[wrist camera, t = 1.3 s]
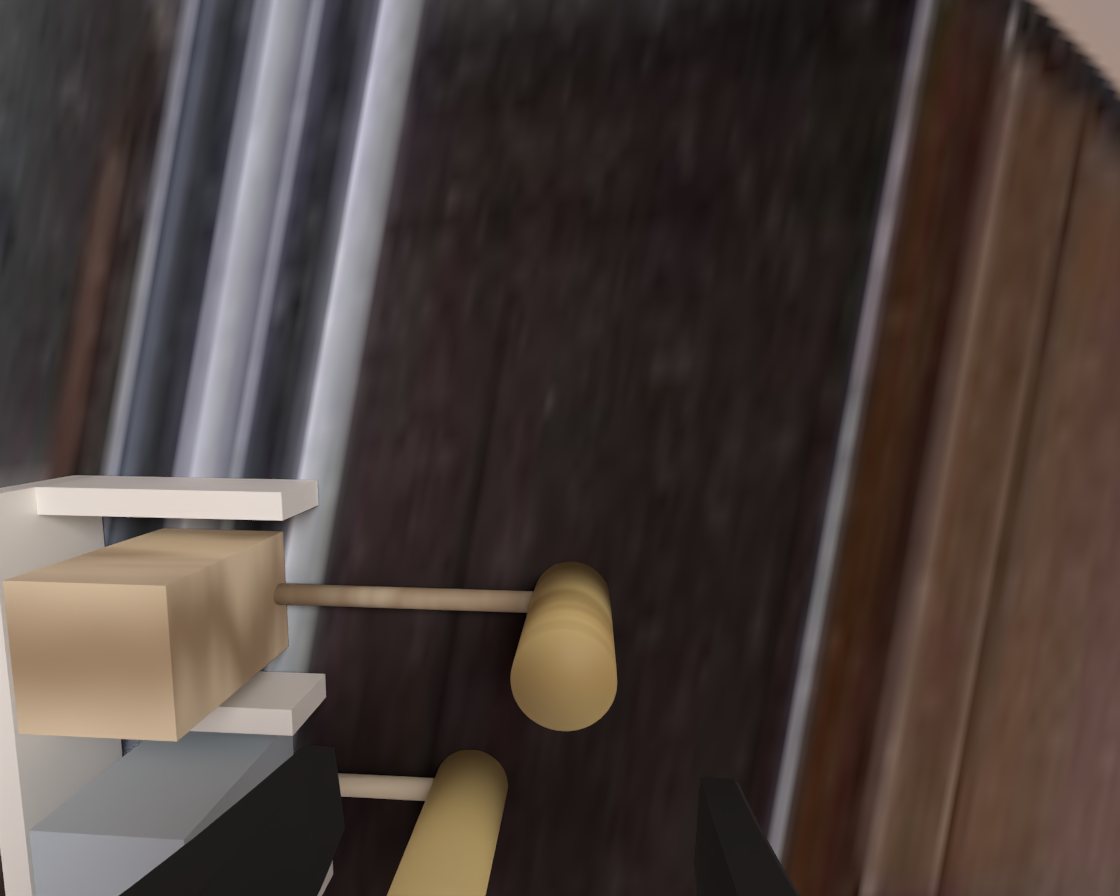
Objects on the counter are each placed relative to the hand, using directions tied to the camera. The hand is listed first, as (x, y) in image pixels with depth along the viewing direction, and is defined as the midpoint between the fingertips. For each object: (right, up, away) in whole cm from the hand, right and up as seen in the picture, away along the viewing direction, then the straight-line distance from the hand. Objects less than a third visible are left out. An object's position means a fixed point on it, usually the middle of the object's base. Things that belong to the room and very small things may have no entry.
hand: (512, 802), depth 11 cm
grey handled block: (-8, -7, +12) cm, 16 cm away
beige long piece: (-6, +1, +11) cm, 13 cm away
